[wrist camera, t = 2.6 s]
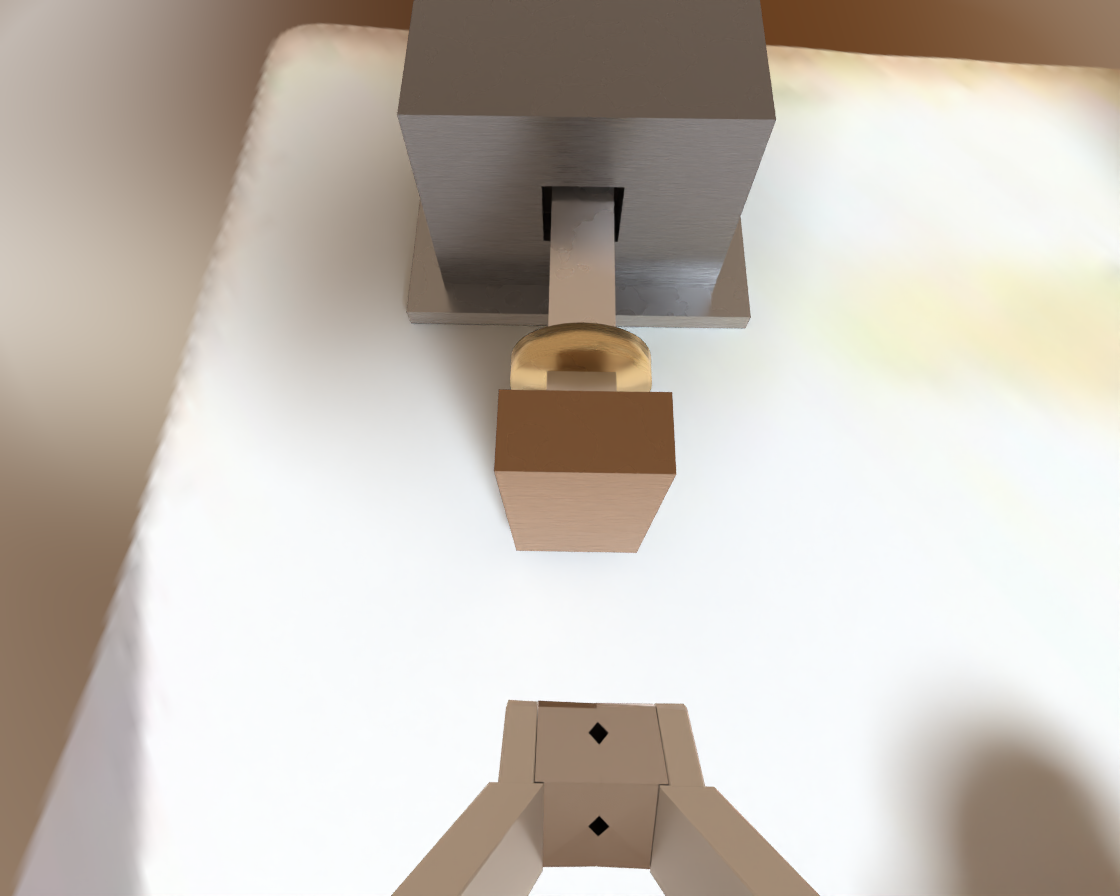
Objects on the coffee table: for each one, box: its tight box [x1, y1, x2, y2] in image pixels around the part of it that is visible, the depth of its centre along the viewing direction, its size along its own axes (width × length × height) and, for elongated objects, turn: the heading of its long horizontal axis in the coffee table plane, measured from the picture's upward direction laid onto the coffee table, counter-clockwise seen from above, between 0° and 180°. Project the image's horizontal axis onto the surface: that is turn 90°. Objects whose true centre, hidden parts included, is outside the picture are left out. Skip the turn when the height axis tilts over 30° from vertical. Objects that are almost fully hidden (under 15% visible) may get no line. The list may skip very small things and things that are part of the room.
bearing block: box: [397, 0, 776, 328], centre depth 36 cm, size 18×20×13 cm
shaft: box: [494, 186, 676, 553], centre depth 31 cm, size 21×6×12 cm, turn 179°
